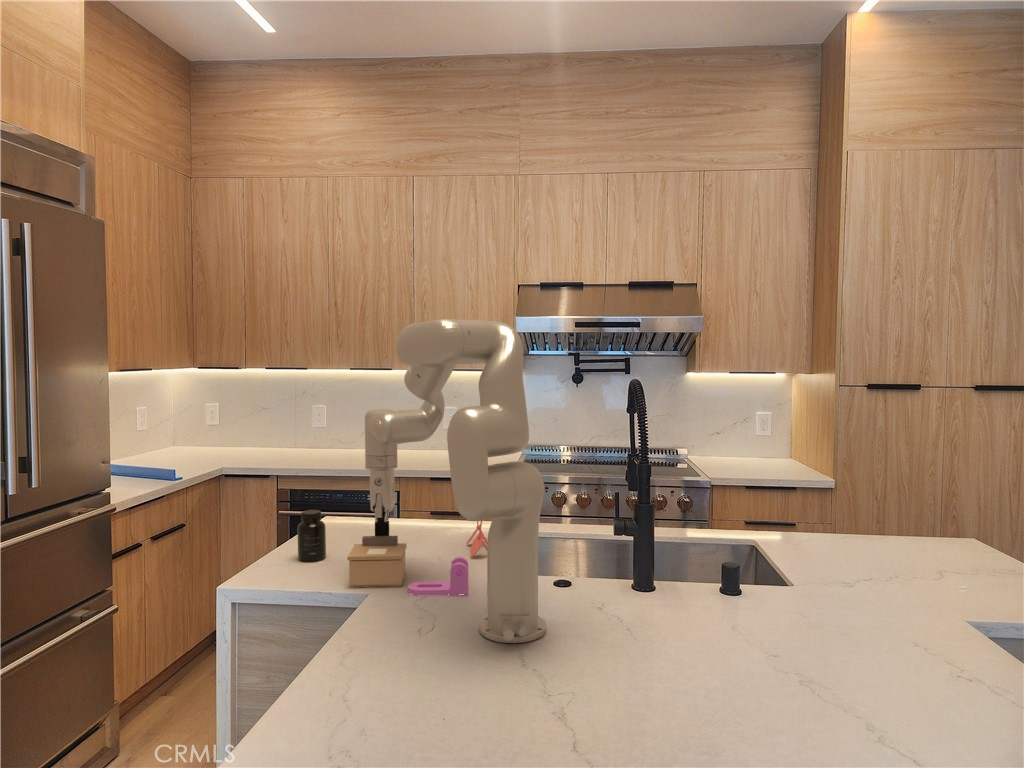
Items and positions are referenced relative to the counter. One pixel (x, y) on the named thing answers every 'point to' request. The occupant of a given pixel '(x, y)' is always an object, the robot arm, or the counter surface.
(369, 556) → the mailer lid
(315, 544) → the supplement bottle
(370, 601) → the counter surface
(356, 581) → the mailer box
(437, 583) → the bracket
